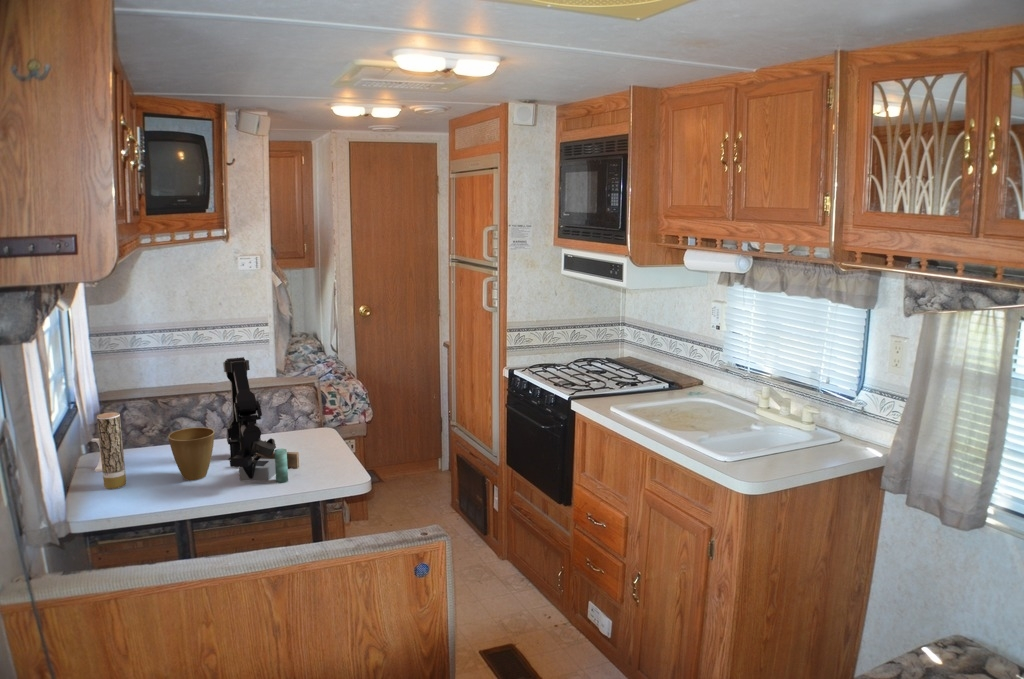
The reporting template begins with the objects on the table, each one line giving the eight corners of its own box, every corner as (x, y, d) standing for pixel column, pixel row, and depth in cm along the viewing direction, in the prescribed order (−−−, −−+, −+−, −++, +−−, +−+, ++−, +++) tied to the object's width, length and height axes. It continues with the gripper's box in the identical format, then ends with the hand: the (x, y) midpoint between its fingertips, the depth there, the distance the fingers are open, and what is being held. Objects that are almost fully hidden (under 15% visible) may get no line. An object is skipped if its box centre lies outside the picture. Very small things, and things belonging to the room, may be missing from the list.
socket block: (239, 480, 268) (238, 467, 267) (251, 470, 278) (250, 458, 277) (267, 480, 267) (267, 468, 266) (278, 471, 277) (277, 459, 276)
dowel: (274, 482, 265) (272, 452, 263) (278, 478, 269) (276, 448, 267) (285, 483, 265) (284, 452, 263) (289, 479, 269) (288, 448, 267)
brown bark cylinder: (111, 491, 258) (104, 418, 254) (100, 487, 262) (92, 416, 257) (130, 485, 264) (123, 414, 260) (119, 481, 267) (112, 411, 263)
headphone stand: (94, 471, 277) (91, 439, 275) (102, 466, 283) (99, 434, 281) (107, 471, 278) (104, 439, 276) (115, 465, 284) (112, 434, 281)
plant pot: (163, 478, 270) (160, 434, 267) (204, 467, 281) (200, 424, 279) (185, 488, 261) (181, 442, 258) (225, 476, 272) (222, 432, 269)
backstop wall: (243, 467, 281) (242, 453, 280) (245, 465, 282) (244, 451, 282) (297, 468, 279) (296, 454, 278) (299, 466, 281) (298, 452, 280)
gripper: (260, 443, 253) (263, 488, 256) (281, 427, 271) (284, 469, 274) (227, 442, 254) (230, 487, 256) (250, 426, 272) (253, 469, 275)
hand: (251, 478), depth 265 cm, fingers closed
